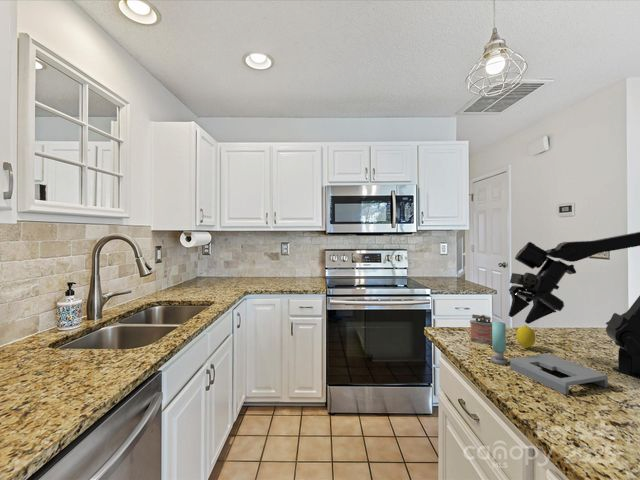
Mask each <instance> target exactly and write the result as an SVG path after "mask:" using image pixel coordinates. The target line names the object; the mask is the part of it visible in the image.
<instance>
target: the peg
mask: <svg viewBox="0 0 640 480" xmlns="http://www.w3.org/2000/svg"><path fill="white" fill-rule="evenodd" d="M491 322H492V350H493V351H494V356H491V358H490V359H491V361H490V362H491V363H493V364H496V365H499V366H500V365H501V366H506V365H508V364H509V363H508V361H509V360H508V359H507V358H506V357H505V355H504V353H505V352H507V343H506V342H507V334H506V333H507V331H506V330H507V329H506V327H507V326H506V323H504V322H501V321H491Z"/></svg>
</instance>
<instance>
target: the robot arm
mask: <svg viewBox="0 0 640 480" xmlns="http://www.w3.org/2000/svg"><path fill="white" fill-rule="evenodd" d="M636 247H640V231H637V232H631V233H625V234H621V235H614V236H610V237H605V238H599V239H593V240H580V241H577V240H576V241H563V242H560V243H558V244H557V245H556V247H554V248H553V247H552V248H551V249H547V250H544V249H543V248H541V247H539V246H538V245H536V244H535V243H533V242H532V241H528V242H527V243H526V244H525V245H524V246H523V247H522V248H521V249H519V251H518V252H517V253H516V255H515V257H514V260H516V261H517V262H519V263H521V264H522V265H525V266H526V267H528V268H529V269H531V270H533V269H535V268H536V269H539V268H540V269H539V271H538V272H537V273H536V274H534V273H531V272H525V273H524V274H521V273H515V272H511V276H510V281H509V283H510V284H512V285H511V286H510V288H509V289H508V291H509V295H511V299H512V301H511V304H510V307H509V308H510V309H509V312H508V317H510V318H514V317H515V316H516V315H518V314H519V313H520V312H522V310H524V309H526V308H527V307H528V306H529V305H530V303H531V302H532V307H531V308H530V311H529V312H528V314H527V316H526V318H525V320H524V322H525V323H526V325H527V324H532V323H533V322H535V321H538V320H540V319H541V318H544V317H546V316H548V315H551V314H553V313H556V312H561V311H562V310H563V309H564V307H565V302H564V300H562V299H560V298H559V297H558V296H556V295H555V294H553V293H552V292H553V291H554V290H559V288H560V286H559V285H558V284H559V283H560V282H561V280H562V278H563V277H564V276H565V274H568V275H574V274H577V271H576V269H575V265H574V264H567V263H565V262H564V261H566V262H570V263H571V262H573V263H574V262H575V263H576V262H578V261H581V260H584V259H587V258H590V257H593V256H595V255H597V254H601V253H606V252H612V251H618V250H623V249H629V248H636ZM553 258H554V259H558V260H554V259H553ZM513 284H514V285H513ZM605 324H606V328H605V332H606V335H607V337H609V338H610V339H611V340H613V342H614V343H615V345H616V346H618V347H619V348H618V350H617V351H618V352H617V353H618V356H617V359H618V361H617V362H618V363H617V364H618V366H614V367H612V370H614V371H617V372H620V373H623V374H626V375H628V376H632V377H635V378H637V379H640V295H639V296H638V297H637V298H636V300H635V301H634V302H633V303H632V305H631V306H630V307H629V309H628V310H627V311H625V312H624V313H622V314H619V313H616V312H614V313H613V314H612V316H611V317H610V319H609V321H606V322H605Z"/></svg>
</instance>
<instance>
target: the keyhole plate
mask: <svg viewBox="0 0 640 480" xmlns="http://www.w3.org/2000/svg"><path fill="white" fill-rule="evenodd" d="M509 366H510V367H509V368H510V370H513V371H514V372H516V373H518V374H521V375H522V376H525V377H527V378H528V379H529V378H530V379H531V380H533V381H535V382H537V383H539V384H542V385H544V386H546V387H548V388H550V389H552V390H554V391H557V392H558V393H561V394H563V395H565V396H566V395H569V393H570V391H569V388H570V387H571V386H576V385H581V384H587V383H593V384H595V385H597V386H600V387H603V388H608V387H609V384H608V383H609V381H608V379H609V378H608V374H605V373H603V372H600V371H597V370H594V369H592V368H589V367H586V366H584V365H580V364H578V363H576V362H572V361H570V360H567V359H565V358H561V357H558V356H556V355H554V354H550V353H549V352H548V353H541V354H534V355H526V356H519V357H513V358H510V363H509ZM543 368H545V369H548V370H550V371H557V372H560V373H562V374H565V375H567V376H568V377H558V376H556V375H553V374H551V373H549V372H546V371H544V370H543Z"/></svg>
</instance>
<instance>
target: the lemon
mask: <svg viewBox="0 0 640 480" xmlns="http://www.w3.org/2000/svg"><path fill="white" fill-rule="evenodd" d="M515 335H516V336H515V337H516V341H517V343H518V344H519V345H520V346H522V347H523V348H524V349H529V348H531V347H533V346H534V345H535V343H536V334H535V331H534V330H533V329H532V328H531V327H529V326H527V324H526V325H525V324H524V325H522V326H520V327H519V328H518V329H517V330H516V334H515Z"/></svg>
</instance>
